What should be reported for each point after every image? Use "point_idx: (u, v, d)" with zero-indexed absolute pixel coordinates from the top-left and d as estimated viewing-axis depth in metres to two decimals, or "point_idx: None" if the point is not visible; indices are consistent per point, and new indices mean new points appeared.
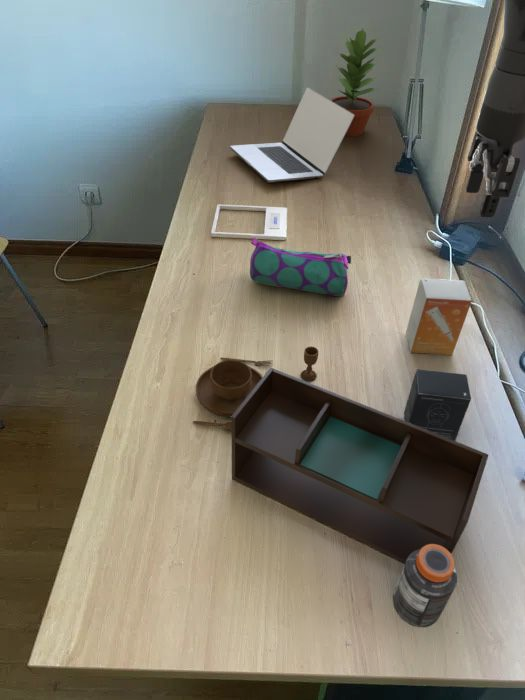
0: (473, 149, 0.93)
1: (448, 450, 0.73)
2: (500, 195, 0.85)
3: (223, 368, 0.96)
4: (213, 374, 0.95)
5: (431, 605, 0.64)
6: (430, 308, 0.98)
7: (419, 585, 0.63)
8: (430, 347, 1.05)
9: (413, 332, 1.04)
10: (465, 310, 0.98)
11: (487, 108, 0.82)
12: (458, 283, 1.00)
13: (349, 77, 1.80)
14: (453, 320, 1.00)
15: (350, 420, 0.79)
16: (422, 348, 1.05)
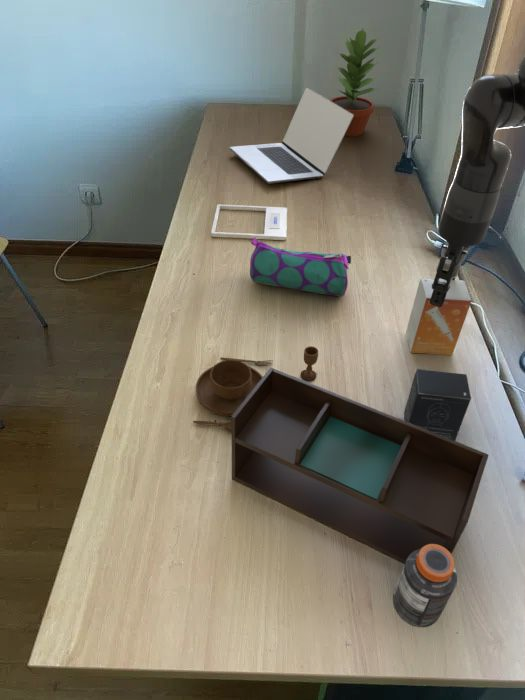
0: None
1: (448, 450, 0.73)
2: (438, 289, 0.92)
3: (223, 368, 0.96)
4: (213, 374, 0.95)
5: (431, 605, 0.64)
6: (430, 308, 0.98)
7: (419, 584, 0.63)
8: (430, 347, 1.05)
9: (413, 332, 1.04)
10: (465, 310, 0.98)
11: (443, 210, 0.90)
12: (457, 284, 1.01)
13: (349, 77, 1.80)
14: (453, 320, 1.00)
15: (350, 420, 0.79)
16: (422, 348, 1.05)
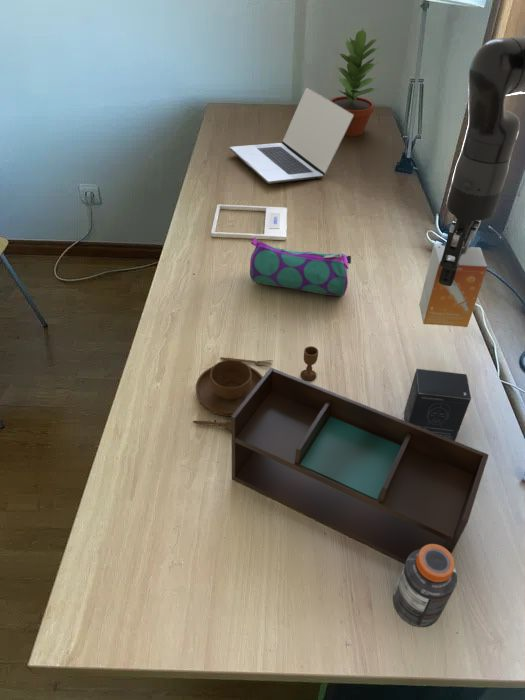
0: None
1: (448, 450, 0.73)
2: (446, 266, 0.89)
3: (223, 368, 0.96)
4: (213, 374, 0.95)
5: (431, 605, 0.64)
6: None
7: (419, 584, 0.63)
8: (443, 318, 1.00)
9: (426, 302, 1.00)
10: (480, 277, 0.94)
11: (451, 184, 0.87)
12: (473, 250, 0.96)
13: (349, 77, 1.80)
14: (468, 288, 0.95)
15: (350, 420, 0.79)
16: (435, 319, 1.00)
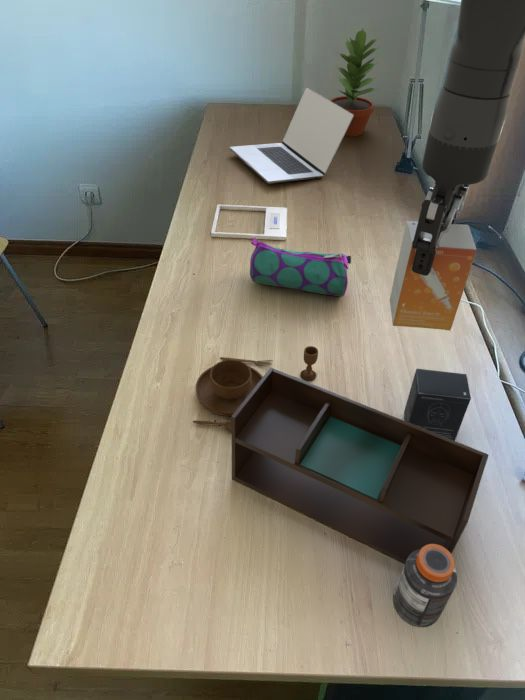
0: None
1: (448, 450, 0.73)
2: (421, 248, 0.65)
3: (223, 368, 0.96)
4: (213, 374, 0.95)
5: (431, 605, 0.64)
6: None
7: (419, 584, 0.63)
8: (419, 319, 0.76)
9: (396, 297, 0.76)
10: (467, 264, 0.70)
11: (428, 133, 0.63)
12: (458, 228, 0.72)
13: (349, 77, 1.80)
14: (451, 279, 0.71)
15: (350, 420, 0.79)
16: (408, 320, 0.76)
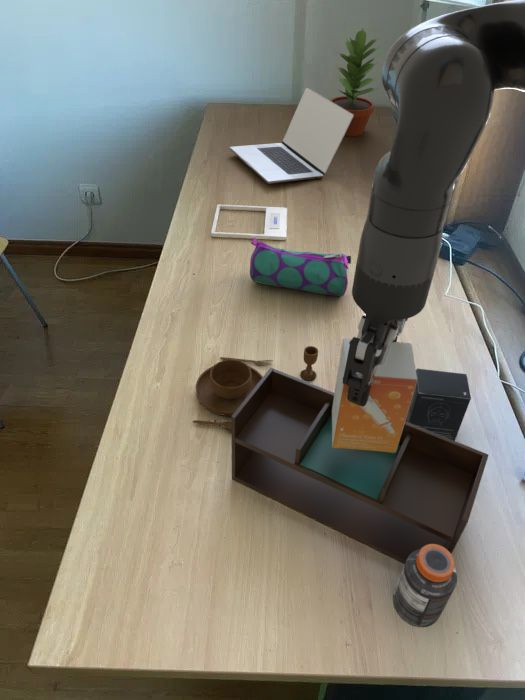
0: None
1: (448, 450, 0.73)
2: (352, 386, 0.58)
3: (222, 368, 0.96)
4: (213, 374, 0.95)
5: (431, 605, 0.64)
6: None
7: (419, 584, 0.63)
8: (361, 442, 0.69)
9: (334, 419, 0.68)
10: (408, 393, 0.62)
11: None
12: (400, 349, 0.64)
13: (349, 77, 1.80)
14: (391, 406, 0.64)
15: None
16: (349, 443, 0.69)
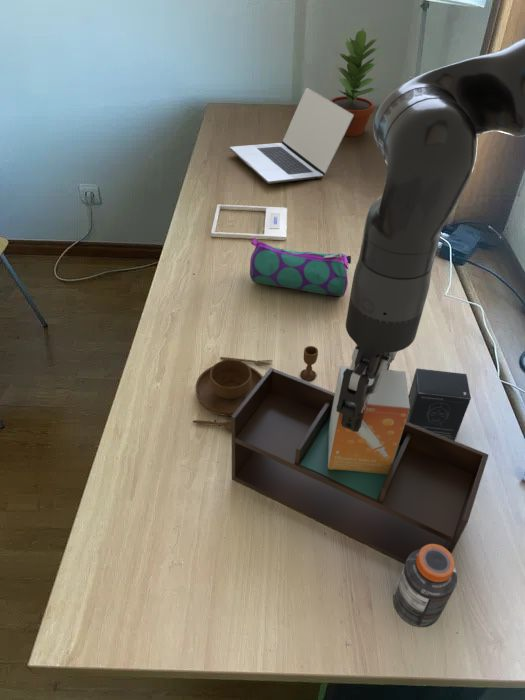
0: None
1: (448, 450, 0.73)
2: (345, 414, 0.61)
3: (222, 368, 0.96)
4: (213, 374, 0.95)
5: (431, 605, 0.64)
6: None
7: (419, 584, 0.63)
8: (355, 464, 0.71)
9: (330, 442, 0.71)
10: (401, 420, 0.65)
11: (350, 297, 0.58)
12: (394, 377, 0.67)
13: (349, 77, 1.80)
14: (385, 432, 0.67)
15: None
16: (344, 465, 0.72)
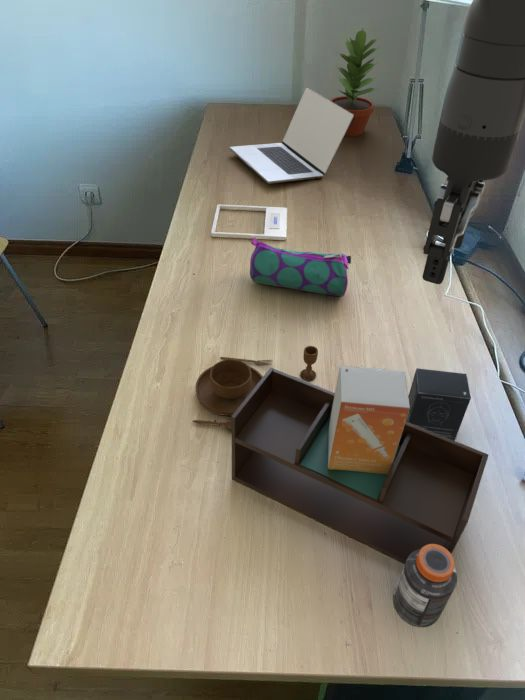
0: None
1: (448, 450, 0.73)
2: (434, 254, 0.57)
3: (222, 367, 0.96)
4: (213, 373, 0.95)
5: (431, 605, 0.64)
6: (348, 415, 0.65)
7: (419, 584, 0.63)
8: (355, 464, 0.71)
9: (330, 442, 0.71)
10: (401, 420, 0.65)
11: (439, 122, 0.55)
12: (394, 377, 0.67)
13: (349, 77, 1.80)
14: (385, 432, 0.67)
15: None
16: (344, 465, 0.72)
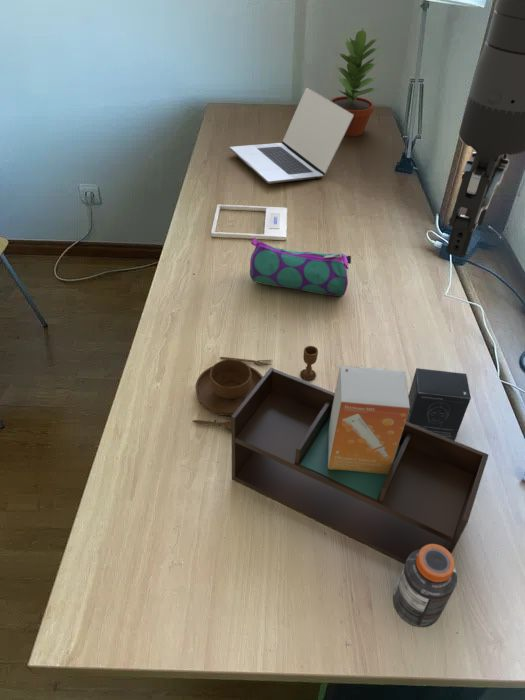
0: None
1: (448, 450, 0.73)
2: (459, 226, 0.59)
3: (222, 367, 0.96)
4: (213, 373, 0.95)
5: (431, 605, 0.64)
6: (348, 415, 0.65)
7: (419, 585, 0.63)
8: (355, 464, 0.71)
9: (330, 442, 0.71)
10: (401, 420, 0.65)
11: (468, 98, 0.57)
12: (394, 377, 0.67)
13: (349, 77, 1.80)
14: (385, 432, 0.67)
15: None
16: (344, 465, 0.72)
